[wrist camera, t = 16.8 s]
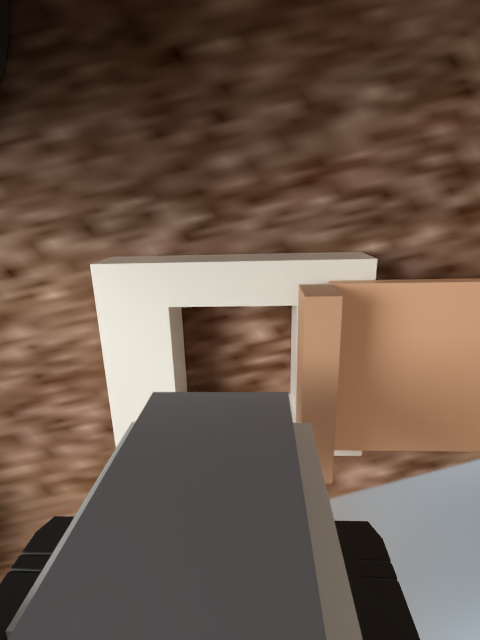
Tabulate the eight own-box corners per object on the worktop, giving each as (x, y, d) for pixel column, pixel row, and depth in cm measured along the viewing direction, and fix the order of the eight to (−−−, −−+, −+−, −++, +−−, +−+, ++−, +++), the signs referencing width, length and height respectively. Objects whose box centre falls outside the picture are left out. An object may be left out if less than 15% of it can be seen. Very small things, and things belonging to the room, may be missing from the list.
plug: (153, 392, 12) (-202, 996, 3) (288, 391, 12) (389, 1056, 3) (164, 502, 14) (-56, 1175, 4) (286, 504, 13) (353, 1225, 4)
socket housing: (112, 256, 21) (90, 264, 18) (360, 251, 21) (377, 258, 18) (133, 424, 24) (116, 453, 22) (349, 425, 24) (361, 455, 21)
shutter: (297, 281, 18) (304, 296, 15) (521, 277, 18) (579, 293, 14) (293, 440, 21) (300, 482, 18) (489, 442, 20) (532, 486, 17)
